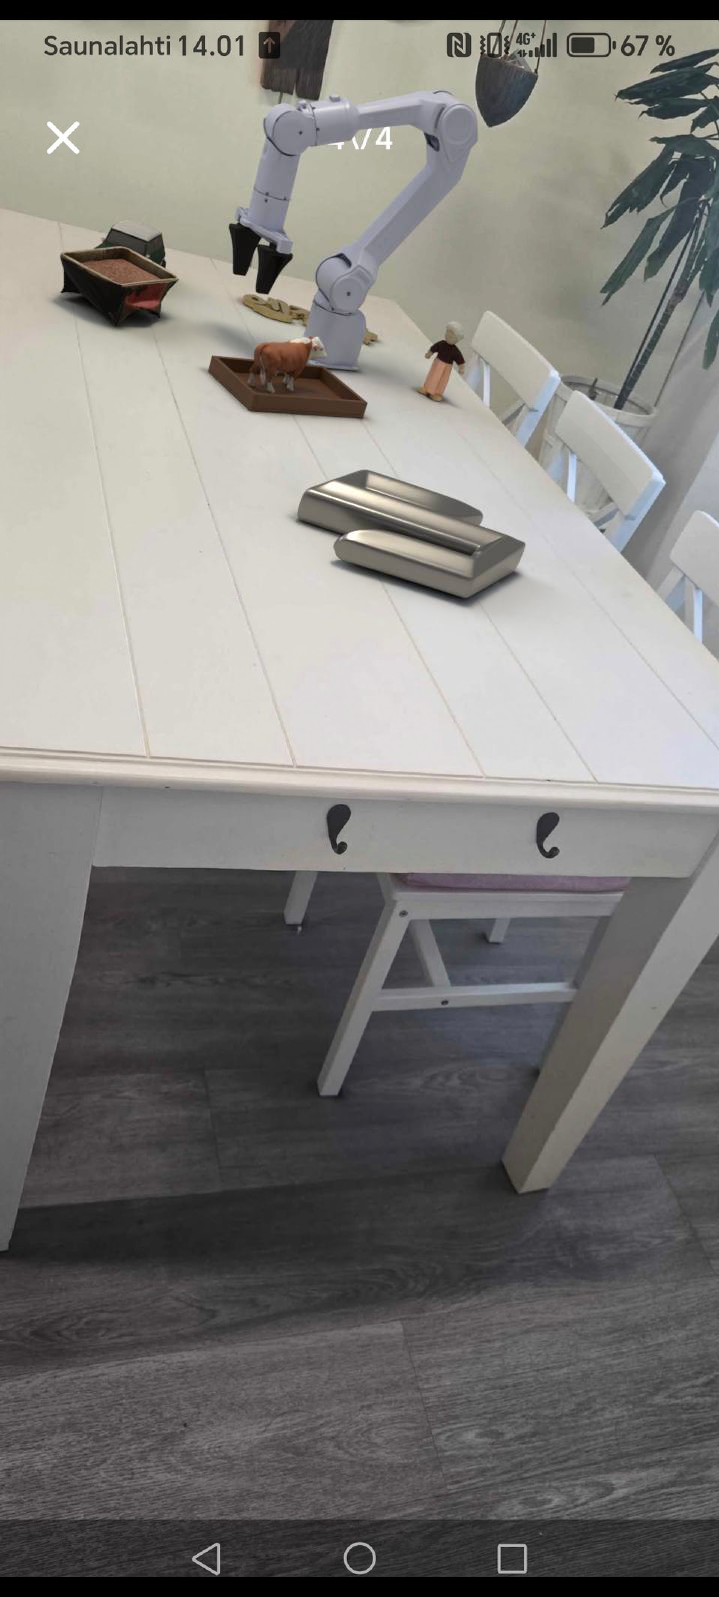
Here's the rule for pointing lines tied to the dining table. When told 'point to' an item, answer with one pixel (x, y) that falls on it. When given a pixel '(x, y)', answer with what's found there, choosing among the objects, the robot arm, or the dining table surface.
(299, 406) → the walnut tray
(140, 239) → the miniature car
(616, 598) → the dining table surface
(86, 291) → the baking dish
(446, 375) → the grandmother figurine
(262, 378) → the bull figurine
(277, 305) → the lettering
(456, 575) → the emblem
